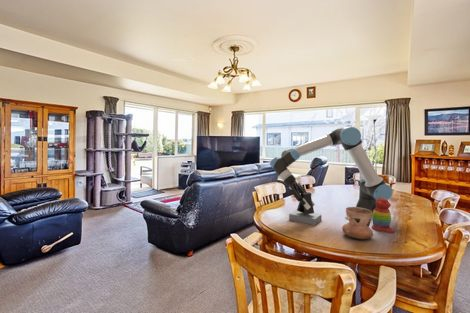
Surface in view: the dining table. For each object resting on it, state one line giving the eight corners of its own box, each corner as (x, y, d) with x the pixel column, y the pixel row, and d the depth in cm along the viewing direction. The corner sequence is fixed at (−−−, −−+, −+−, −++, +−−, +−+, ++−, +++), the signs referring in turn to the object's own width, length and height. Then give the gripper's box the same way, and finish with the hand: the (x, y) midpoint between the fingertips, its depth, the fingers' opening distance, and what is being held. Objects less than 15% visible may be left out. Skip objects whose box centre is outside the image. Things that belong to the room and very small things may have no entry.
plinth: (321, 220, 159) (321, 214, 158) (314, 225, 149) (314, 219, 149) (297, 214, 168) (297, 209, 168) (289, 219, 159) (289, 213, 159)
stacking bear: (395, 233, 138) (397, 201, 136) (374, 231, 140) (376, 200, 138) (387, 226, 148) (389, 196, 147) (368, 225, 150) (370, 195, 149)
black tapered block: (314, 213, 156) (315, 194, 155) (306, 214, 153) (307, 194, 152) (304, 209, 164) (305, 191, 163) (296, 210, 161) (297, 191, 160)
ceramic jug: (356, 244, 123) (358, 215, 122) (334, 233, 136) (335, 207, 135) (382, 239, 130) (384, 212, 129) (358, 229, 143) (360, 204, 142)
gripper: (290, 179, 174) (312, 207, 165) (276, 183, 159) (300, 214, 150) (298, 172, 171) (321, 200, 162) (284, 176, 155) (309, 207, 146)
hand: (311, 207), depth 156 cm, fingers closed on black tapered block, 7 cm apart
